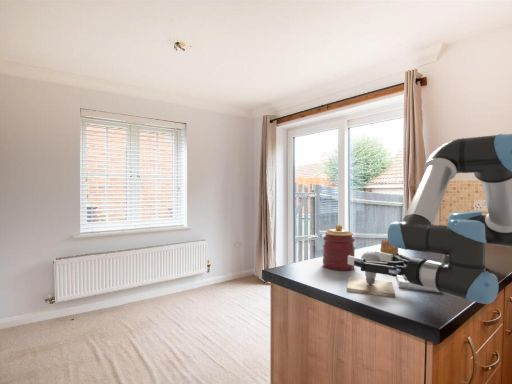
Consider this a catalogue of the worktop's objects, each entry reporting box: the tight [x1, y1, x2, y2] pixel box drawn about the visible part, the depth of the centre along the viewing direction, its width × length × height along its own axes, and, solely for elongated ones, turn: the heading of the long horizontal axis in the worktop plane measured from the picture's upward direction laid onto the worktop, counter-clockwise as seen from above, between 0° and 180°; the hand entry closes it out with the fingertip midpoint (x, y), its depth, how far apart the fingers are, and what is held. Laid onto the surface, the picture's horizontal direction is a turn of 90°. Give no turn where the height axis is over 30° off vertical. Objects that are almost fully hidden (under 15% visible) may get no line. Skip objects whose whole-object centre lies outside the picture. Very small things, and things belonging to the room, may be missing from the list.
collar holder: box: [395, 275, 442, 293], centre depth 100 cm, size 12×12×2 cm
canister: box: [322, 224, 356, 271], centre depth 121 cm, size 13×13×18 cm
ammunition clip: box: [379, 238, 400, 266], centre depth 123 cm, size 11×2×12 cm, turn 120°
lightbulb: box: [360, 251, 381, 285], centre depth 96 cm, size 6×6×11 cm
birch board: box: [346, 276, 396, 298], centre depth 96 cm, size 14×12×1 cm
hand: (362, 257), depth 99 cm, fingers open, 13 cm apart
